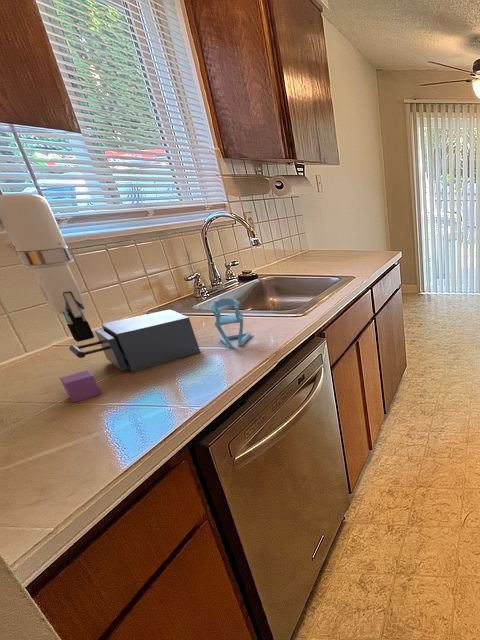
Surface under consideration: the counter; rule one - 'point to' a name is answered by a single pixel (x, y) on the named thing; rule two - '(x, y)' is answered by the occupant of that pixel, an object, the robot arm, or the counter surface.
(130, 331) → the grey drawer box
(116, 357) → the teal drawer
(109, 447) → the counter surface
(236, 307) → the chair
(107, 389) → the counter surface
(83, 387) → the purple cube
